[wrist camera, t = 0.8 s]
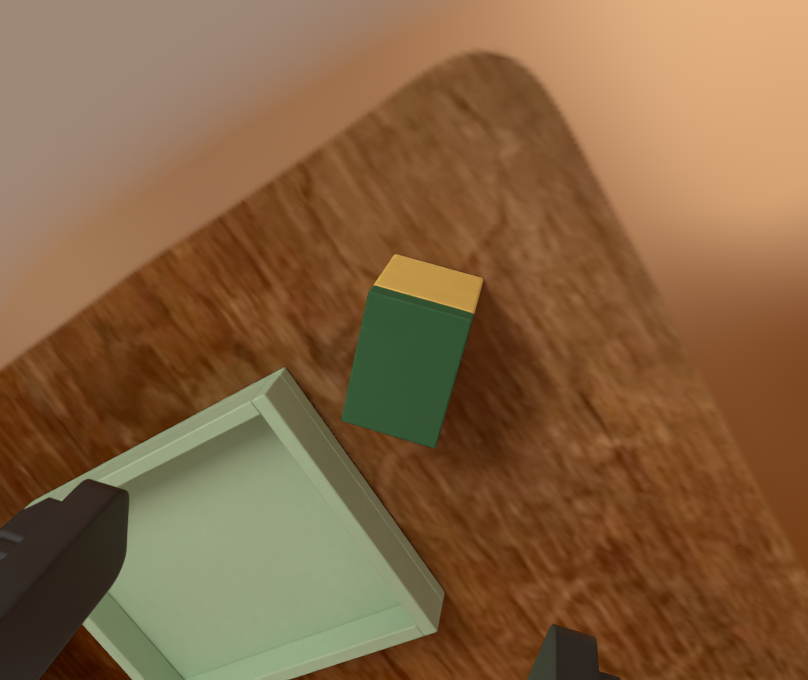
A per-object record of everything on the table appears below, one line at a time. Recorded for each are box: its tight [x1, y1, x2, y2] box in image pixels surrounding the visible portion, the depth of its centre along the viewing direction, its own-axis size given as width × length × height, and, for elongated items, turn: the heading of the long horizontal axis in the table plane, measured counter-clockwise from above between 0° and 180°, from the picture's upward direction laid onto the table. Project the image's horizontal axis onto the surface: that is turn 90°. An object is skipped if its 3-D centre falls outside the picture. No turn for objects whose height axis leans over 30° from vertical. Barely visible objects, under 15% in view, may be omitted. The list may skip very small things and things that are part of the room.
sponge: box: [341, 254, 483, 448], centre depth 22 cm, size 4×3×4 cm
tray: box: [25, 368, 445, 680], centre depth 29 cm, size 14×11×2 cm
